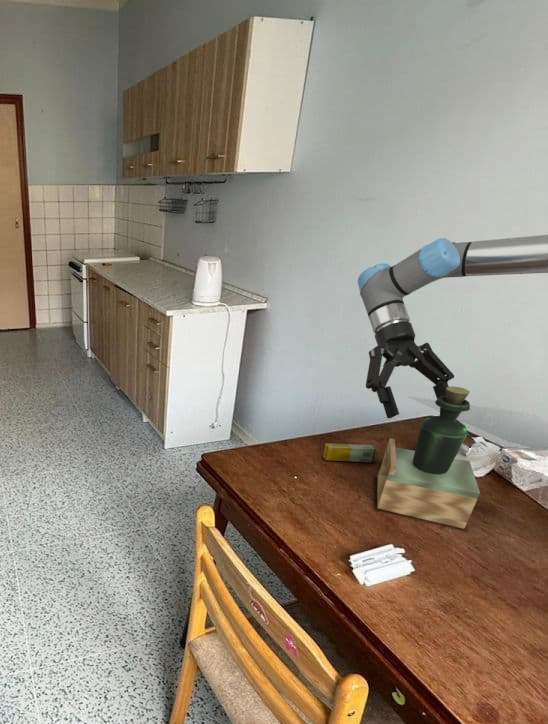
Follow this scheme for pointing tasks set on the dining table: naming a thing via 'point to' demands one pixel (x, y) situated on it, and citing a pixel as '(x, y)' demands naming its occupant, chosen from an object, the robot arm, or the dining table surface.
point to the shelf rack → (426, 489)
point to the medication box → (349, 452)
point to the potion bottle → (442, 433)
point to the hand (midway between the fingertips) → (421, 413)
